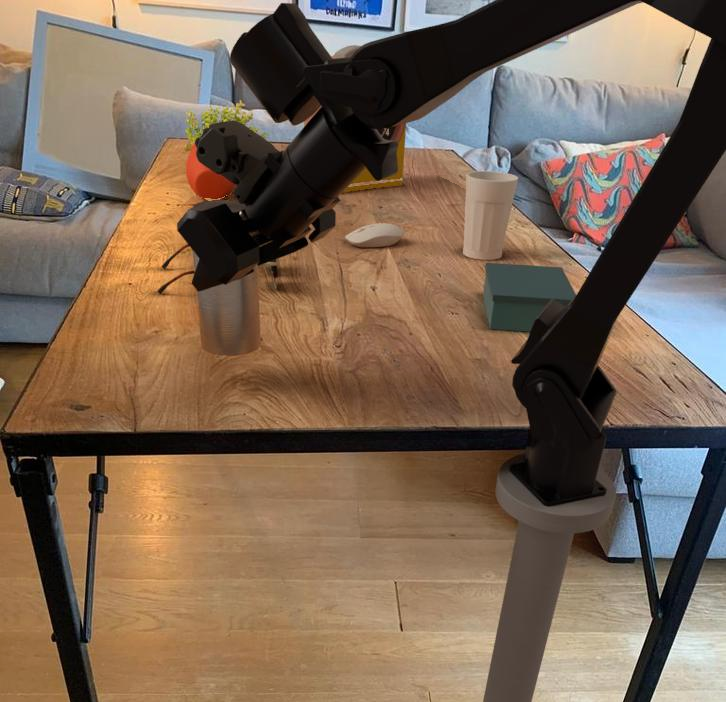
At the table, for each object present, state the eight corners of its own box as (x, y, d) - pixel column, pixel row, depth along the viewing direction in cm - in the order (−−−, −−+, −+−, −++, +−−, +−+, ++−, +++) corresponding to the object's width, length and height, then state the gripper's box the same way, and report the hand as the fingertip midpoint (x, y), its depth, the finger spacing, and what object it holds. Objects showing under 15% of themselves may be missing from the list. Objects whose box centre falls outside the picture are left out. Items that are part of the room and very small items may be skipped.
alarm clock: (327, 194, 151) (329, 46, 137) (302, 186, 157) (302, 43, 142) (403, 184, 162) (413, 47, 148) (377, 177, 168) (384, 44, 154)
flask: (267, 352, 73) (261, 212, 66) (207, 359, 71) (194, 215, 64) (253, 330, 78) (246, 197, 70) (196, 336, 76) (183, 200, 68)
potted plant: (273, 236, 143) (267, 160, 177) (274, 161, 134) (267, 96, 167) (173, 233, 141) (186, 157, 174) (166, 156, 131) (181, 91, 165)
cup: (467, 262, 115) (477, 181, 108) (451, 247, 121) (459, 170, 115) (514, 260, 117) (526, 181, 110) (495, 246, 123) (506, 170, 117)
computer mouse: (340, 240, 123) (341, 221, 121) (394, 236, 126) (395, 218, 124) (353, 249, 118) (354, 230, 116) (408, 245, 121) (410, 227, 120)
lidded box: (575, 335, 91) (582, 300, 88) (488, 329, 91) (493, 294, 89) (558, 299, 102) (564, 267, 99) (481, 294, 102) (485, 262, 100)
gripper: (307, 81, 67) (217, 192, 77) (184, 97, 53) (92, 230, 63) (381, 182, 69) (283, 278, 79) (281, 223, 55) (176, 334, 65)
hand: (215, 278), depth 71 cm, fingers closed on flask, 6 cm apart
